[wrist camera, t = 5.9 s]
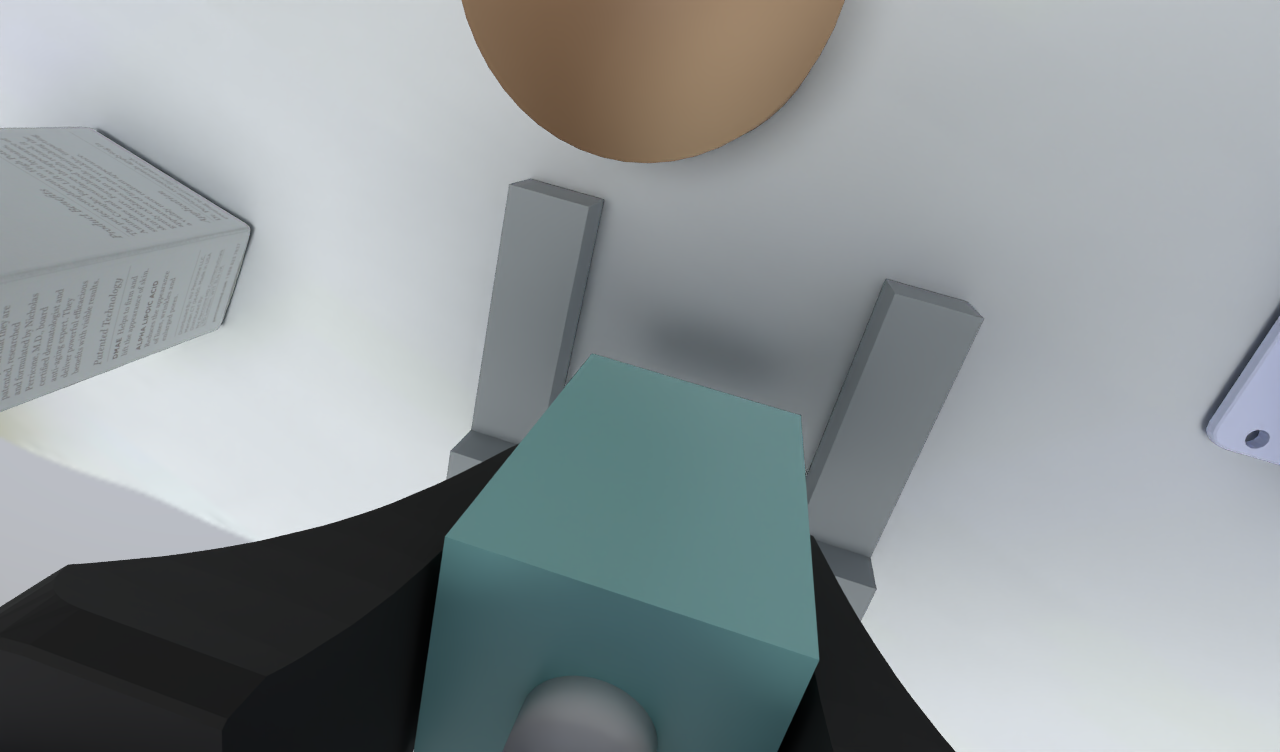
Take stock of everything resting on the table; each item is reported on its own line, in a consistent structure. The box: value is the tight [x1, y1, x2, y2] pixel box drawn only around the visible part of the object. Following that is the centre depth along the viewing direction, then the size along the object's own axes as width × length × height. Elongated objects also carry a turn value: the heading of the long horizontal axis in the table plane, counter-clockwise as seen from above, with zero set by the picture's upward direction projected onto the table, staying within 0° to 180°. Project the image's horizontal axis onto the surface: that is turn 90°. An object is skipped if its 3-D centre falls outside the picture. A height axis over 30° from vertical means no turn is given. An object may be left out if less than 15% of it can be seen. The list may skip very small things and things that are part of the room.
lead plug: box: [414, 354, 819, 752], centre depth 10 cm, size 4×4×7 cm
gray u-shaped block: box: [446, 179, 984, 621], centre depth 19 cm, size 12×9×3 cm
